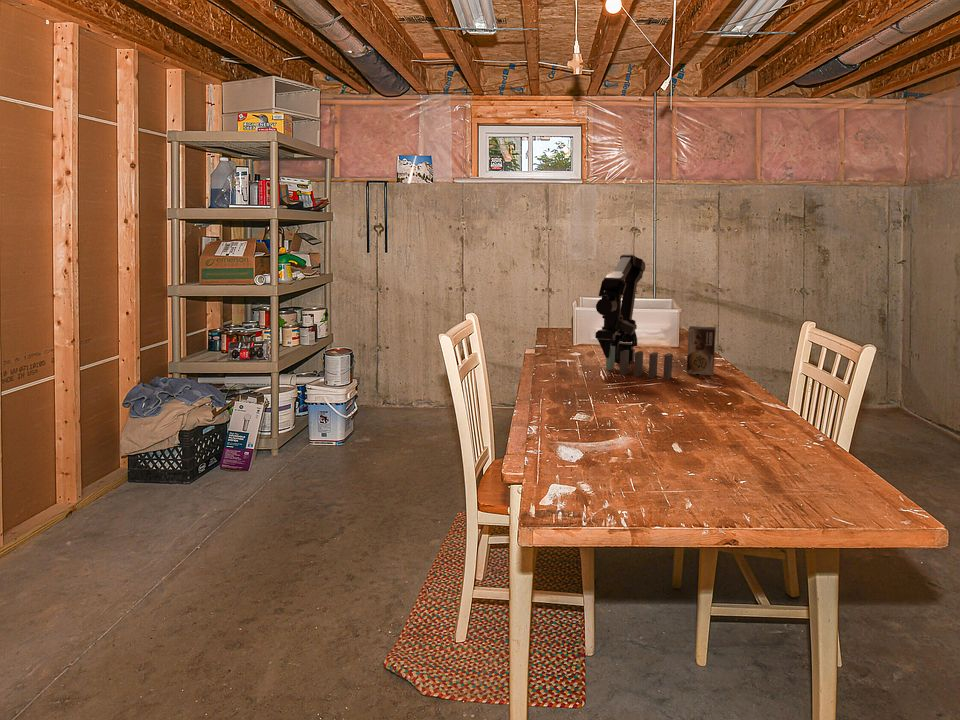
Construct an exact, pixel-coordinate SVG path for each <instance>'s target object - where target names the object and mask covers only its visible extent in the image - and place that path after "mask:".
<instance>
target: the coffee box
mask: <svg viewBox="0 0 960 720" xmlns="http://www.w3.org/2000/svg"><path fill="white" fill-rule="evenodd" d="M687 330H688V331H687V354H686V373H685V374H686V375H696V374H699V375H698V376H714V373H715V357H716V356H715V355H716V334H717V327H716V326H688V329H687Z"/></svg>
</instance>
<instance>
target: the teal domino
mask: <svg viewBox="0 0 960 720" xmlns="http://www.w3.org/2000/svg"><path fill="white" fill-rule="evenodd" d="M605 359H606V360H605V361H606V362H605V370H606V371H612V370H613V369H615V365H616V362H615V346H611V350H610V355H609V358H606V357H605Z"/></svg>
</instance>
